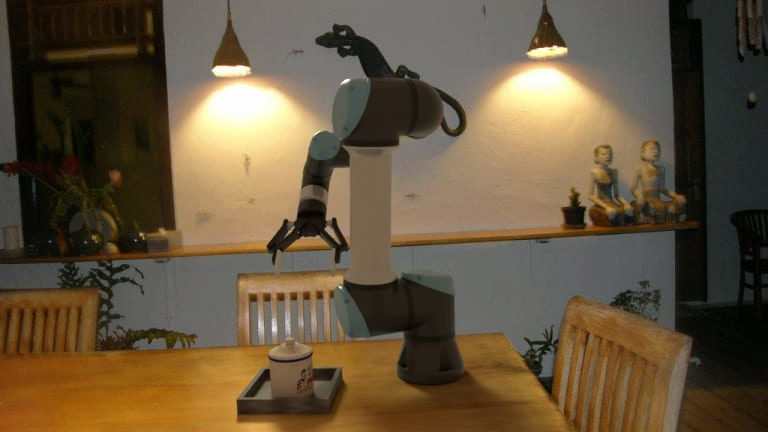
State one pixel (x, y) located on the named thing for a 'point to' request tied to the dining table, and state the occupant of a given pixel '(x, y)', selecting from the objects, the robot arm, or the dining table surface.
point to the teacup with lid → (291, 370)
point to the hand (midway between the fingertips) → (304, 274)
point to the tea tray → (262, 402)
